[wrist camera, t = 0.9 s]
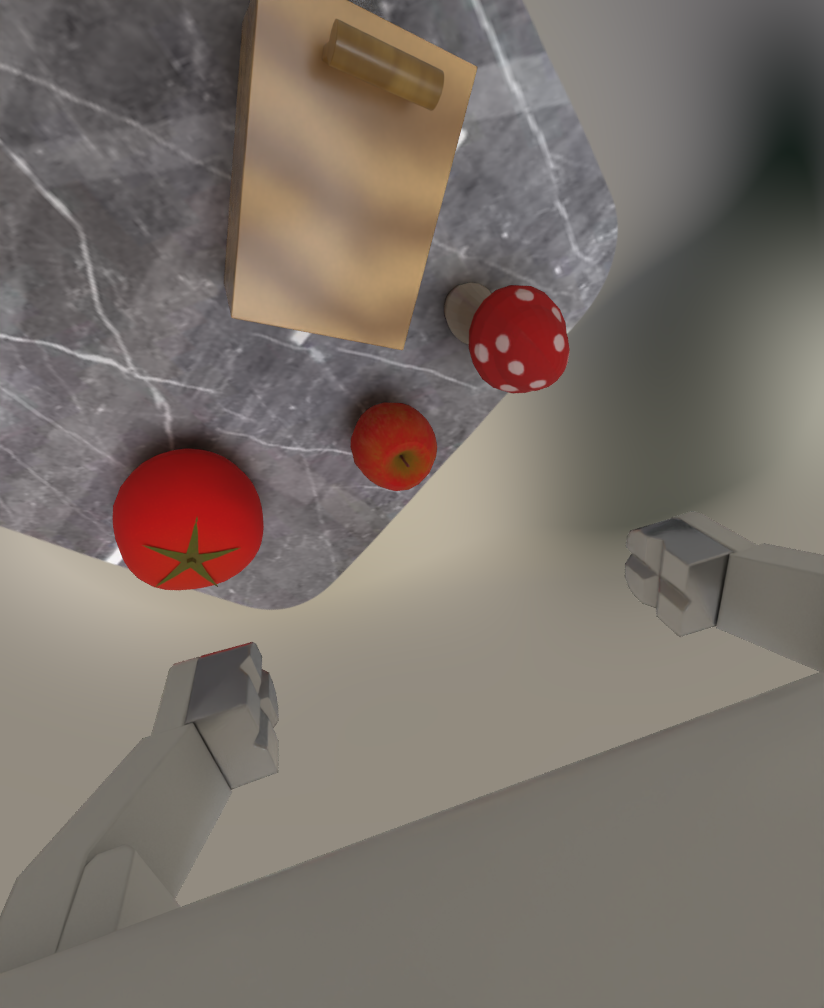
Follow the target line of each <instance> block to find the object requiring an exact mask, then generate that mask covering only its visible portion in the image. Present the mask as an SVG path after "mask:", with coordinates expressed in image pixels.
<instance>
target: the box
mask: <svg viewBox="0 0 824 1008" xmlns="http://www.w3.org/2000/svg"><path fill="white" fill-rule="evenodd" d="M255 8H256V0H251V1H250V4H249V6H248V9H247V11H246V14H245V16H244V19H243V22H242V35H241V49H240V63H239V77H238V91H237V105H236V119H235V133H234V147H233V161H232V175H231V189H230V203H229V217H228V231H227V245H226V260H225V274H224V286H225V290H226V295H227V299H228V304H229V308H230V312H231V306H232V294H233V281H234V269H235V257H236V244H237V232H238V219H239V207H240V195H241V182H242V170H243V157H244V145H245V132H246V120H247V108H248V95H249V83H250V70H251V58H252V46H253V33H254V21H255Z"/></svg>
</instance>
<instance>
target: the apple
mask: <svg viewBox="0 0 824 1008" xmlns="http://www.w3.org/2000/svg"><path fill="white" fill-rule="evenodd" d="M351 450H352V454H353V458H354V462H355V464H356V465H357V466H358V468H359V469H360V470H361V471H362V473H363V474H364V475H365V476H366V477H367V478H368V479H369V480H370V481H372V482H373V483H375V484H376V485H378V486H380V487H383V488H386V489H389V490H394V491H400V490H408V489H410V488H412V487H414V486H416V485H418V484H419V483H420V482H421V481H422V480H423V479H424V478H425V477H426V476H427V475H428V474H429V472H430V470H431V468H432V465H433V463H434V460H435V458H436V453H437V443H436V438H435V434H434V432H433V429H432V427H431V426H430V424H429V422H428V421H427V419H426V418H425V417H424V416H423V415H422V414H421V413H420V412H419V411H417V410H416V409H414V408H412V407H411V406H409V405H406V404H403V403H381V404H377V405H374V406H372V407H371V408H369V409H368V410H366V411H365V412H364V413H363V414H362V415H361V417H360V418H359V420H358V422H357V424H356V427H355V429H354V432H353V434H352V437H351Z"/></svg>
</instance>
